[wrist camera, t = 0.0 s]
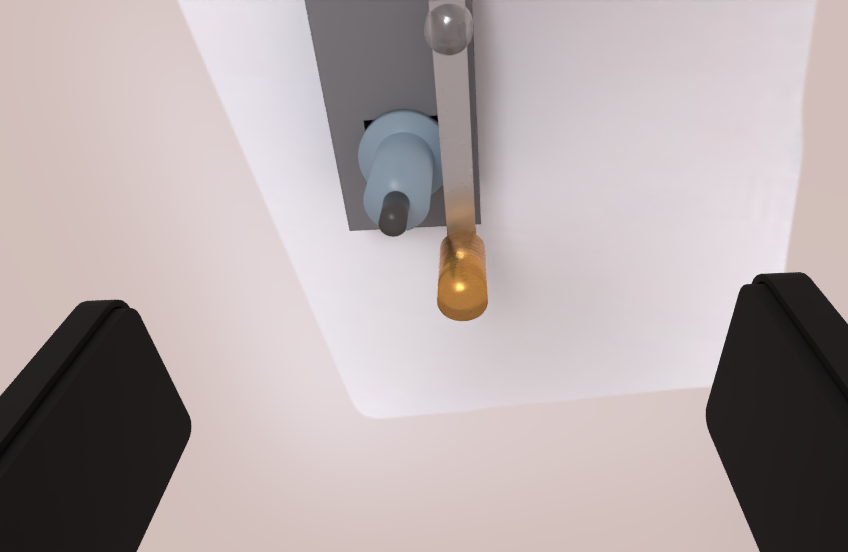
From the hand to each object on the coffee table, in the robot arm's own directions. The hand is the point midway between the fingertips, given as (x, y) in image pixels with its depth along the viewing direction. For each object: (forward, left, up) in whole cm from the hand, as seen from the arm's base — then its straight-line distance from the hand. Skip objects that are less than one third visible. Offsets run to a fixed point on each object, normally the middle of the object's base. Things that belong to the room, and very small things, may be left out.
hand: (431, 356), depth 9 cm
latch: (+9, 0, -29) cm, 31 cm away
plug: (+10, -4, -35) cm, 36 cm away
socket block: (+8, -4, -37) cm, 38 cm away
